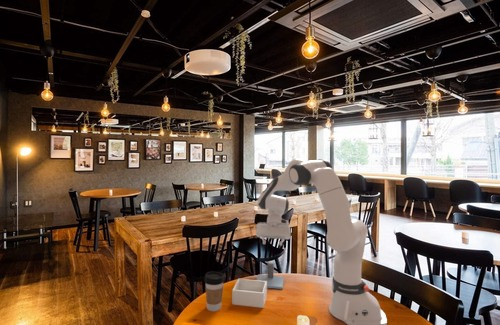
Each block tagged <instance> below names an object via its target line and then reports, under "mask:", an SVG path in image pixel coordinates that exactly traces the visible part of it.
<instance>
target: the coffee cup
mask: <svg viewBox="0 0 500 325" xmlns="http://www.w3.org/2000/svg"><path fill="white" fill-rule="evenodd" d="M224 282H225V276H224V274H223V273H222V272H220V271H208V272H206V273H205V276H204V283H205V297H206V309H207V310H208V311H210V312H218V311H219V310H221V308H222V302H223V301H222V300H223V294H224V293H223V292H224Z"/></svg>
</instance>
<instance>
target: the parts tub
mask: <svg viewBox="0 0 500 325" xmlns="http://www.w3.org/2000/svg"><path fill="white" fill-rule="evenodd" d="M231 293H232V294H231V296H232V297H231V304H232V305H237V306H245V307H254V308H263V309H264V308H265V304H266V299H267V297H268V296H267V295H268V288H267V281H260V280H256V279H249V278H239V277H238V279H237V280H236V282H235V284H234V287H233V288H232V290H231Z"/></svg>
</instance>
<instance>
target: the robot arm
mask: <svg viewBox="0 0 500 325" xmlns="http://www.w3.org/2000/svg"><path fill="white" fill-rule="evenodd" d="M309 184H312V185H314V186H315V188H316V191H317V193H318V197H319V200H320V202H321V204H322V207H323V210H324V214H325V220H326V226H327V229H326V230H327V232H326V243H327V245H328V246H329V247H330V248H331V249H332V250H334V251H335V252H336V254H335V256H334V258H333V276H332V279H331V283H332V284H331V290H332V297H331V300H330V301H331V302H330V304H329V307H328V311H329V313H330V314H331V315H332V316H333V317H335V318H336V319H338V320H340V321H342V322H343V323H345V324H347V325H388V319H387V316H386V313H385V312H384V311H383V310H382V309H381V306H380V303H379V301H378V300H377V298H376V297H375V296H374V295H372V294H371V293H370V292H369V291H370V289H371V288H370V287H369V286H368V284H367V283H366V282H365V281H364V280H363V279H362V266H363V265H362V263H363V258H364V252H365V246H366V240H367V237H368V232H369V230H368V227H367V225H366V224H365V222H363V221H361V220H360V219H356V218H352V217H351V211H350V209H351V203H350V201H349V198H348V195H347V194H346V191H345V189H344V186H343V184H342V181H341V179H340V178H339V177H338V174H337V172H336V171H335V170H334V169H333V166H332V164H331V163H330V161H329V160H327V159H323V158H322V159H321V158H319V159H313V160H312V159H311V160H303V159H302V158H299V157H298V158H297V157H296V158H293V159H292V160H291V161H290V162H289V163H288V164H287V166H286V168H285V170H284V171H283V173H282V174H280V175H278V176H276V177H274V178H273V179H271V182H269V184H268V185H267V186H266V188H265V189H264V190H263V191H262V192H261V193H260V195H259V196H258V198H257V205H258V207H259V208H260V209H261V210H267V218H266V222H261V221H260V222H257V224H256V231H255V236H256V237H257V238H261V240H262V244H263V245H266V242H267V241H266V240H265V238H266V239H278V240H279V239H280V240H281V241H280V240H279V243H278V244H279V245H278V246H283V243H284V241H285V240H290V239H291V238H292V237H291V235H292V234H291V227H290V223H289V220H286V219H284V218H282V216H283V215H285V214H287V212H288V211H289V208H290V207H289V204H290V201H289V199H288V198H287V197H284V196H280V195H276V194H274V193H275V192H277V191H288V192H292V191H296V190H297V189H299V188H300V187H301V186H308V185H309Z"/></svg>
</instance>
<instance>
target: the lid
mask: <svg viewBox="0 0 500 325" xmlns="http://www.w3.org/2000/svg"><path fill="white" fill-rule="evenodd" d="M274 265H275V264H274V263H270V262H268V263H267V274H259V273H258V275H257V276H256V279H255V280H260V281H267V289H276V290H283V288H284V282H285V280H284V278H285V277H284V276H281V275H279V276H278V275H274V271H275V270H274V269H275V268H274Z"/></svg>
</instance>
